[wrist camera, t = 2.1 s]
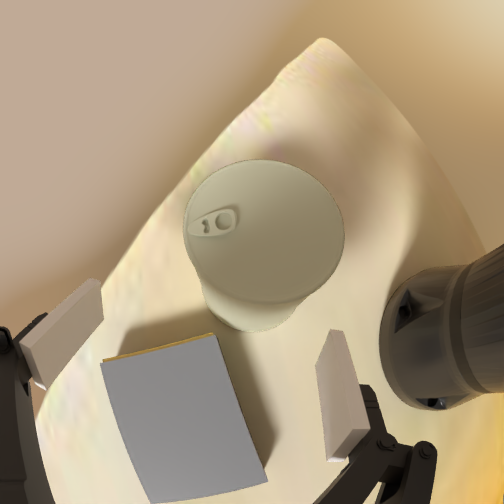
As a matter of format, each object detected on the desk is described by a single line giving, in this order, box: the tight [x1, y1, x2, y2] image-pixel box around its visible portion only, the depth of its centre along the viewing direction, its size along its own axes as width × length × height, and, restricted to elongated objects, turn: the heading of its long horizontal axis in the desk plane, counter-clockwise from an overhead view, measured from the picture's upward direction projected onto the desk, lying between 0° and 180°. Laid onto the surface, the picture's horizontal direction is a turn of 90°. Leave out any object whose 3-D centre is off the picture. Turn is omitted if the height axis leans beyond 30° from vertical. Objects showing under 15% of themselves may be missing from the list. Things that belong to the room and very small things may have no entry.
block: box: [100, 332, 268, 504], centre depth 20 cm, size 10×13×3 cm
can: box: [183, 159, 345, 332], centre depth 21 cm, size 9×9×12 cm
